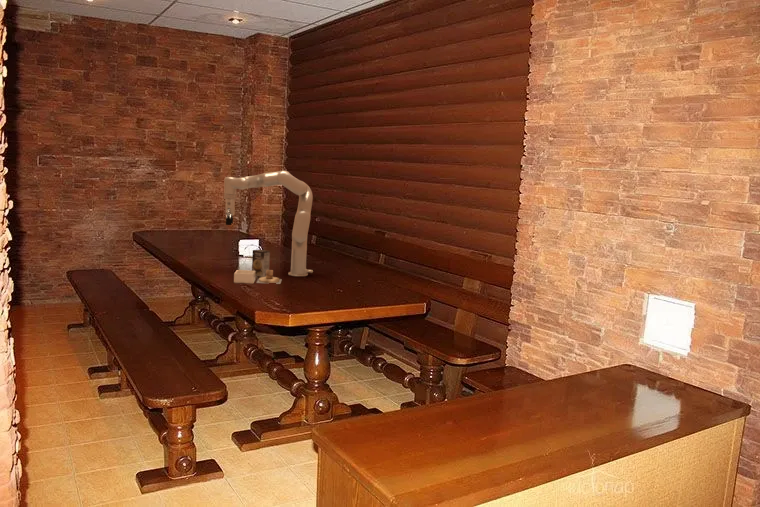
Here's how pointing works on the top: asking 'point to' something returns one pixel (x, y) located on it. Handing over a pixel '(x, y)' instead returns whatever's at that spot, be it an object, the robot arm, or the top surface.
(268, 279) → the lid
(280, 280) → the mat
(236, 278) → the small beige box
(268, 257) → the coffee box
